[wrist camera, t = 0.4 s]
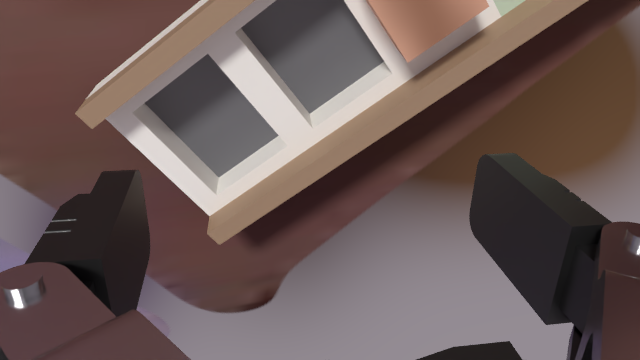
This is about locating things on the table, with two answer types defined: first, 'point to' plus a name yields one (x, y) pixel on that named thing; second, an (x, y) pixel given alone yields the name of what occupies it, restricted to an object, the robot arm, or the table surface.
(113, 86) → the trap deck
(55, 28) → the table surface
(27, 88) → the table surface
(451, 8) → the block
